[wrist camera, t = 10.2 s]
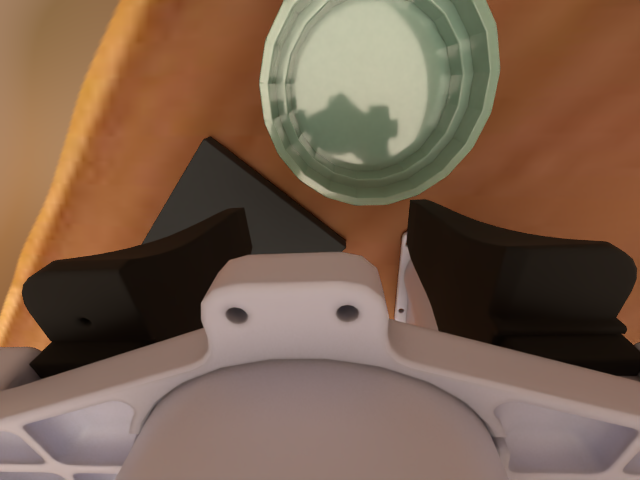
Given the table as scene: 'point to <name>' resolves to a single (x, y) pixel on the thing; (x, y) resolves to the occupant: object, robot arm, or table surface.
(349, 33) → the bowl
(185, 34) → the table surface
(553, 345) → the robot arm
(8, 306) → the table surface
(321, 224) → the desk pad
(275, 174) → the table surface
